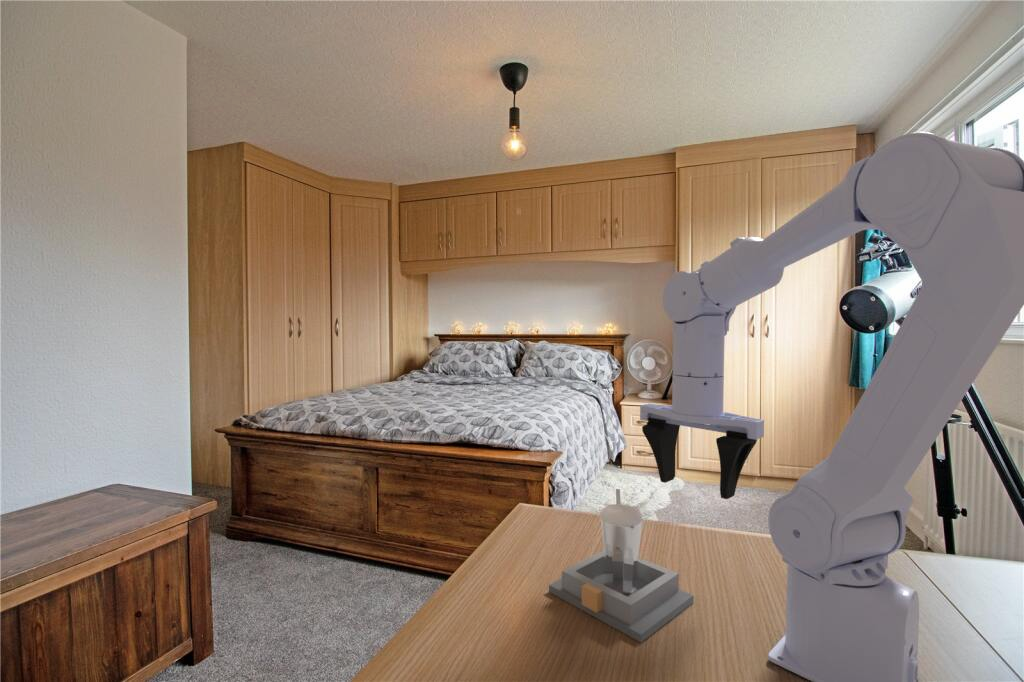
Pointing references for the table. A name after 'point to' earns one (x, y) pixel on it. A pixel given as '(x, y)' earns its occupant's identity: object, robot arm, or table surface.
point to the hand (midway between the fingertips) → (696, 488)
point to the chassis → (624, 596)
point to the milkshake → (621, 545)
